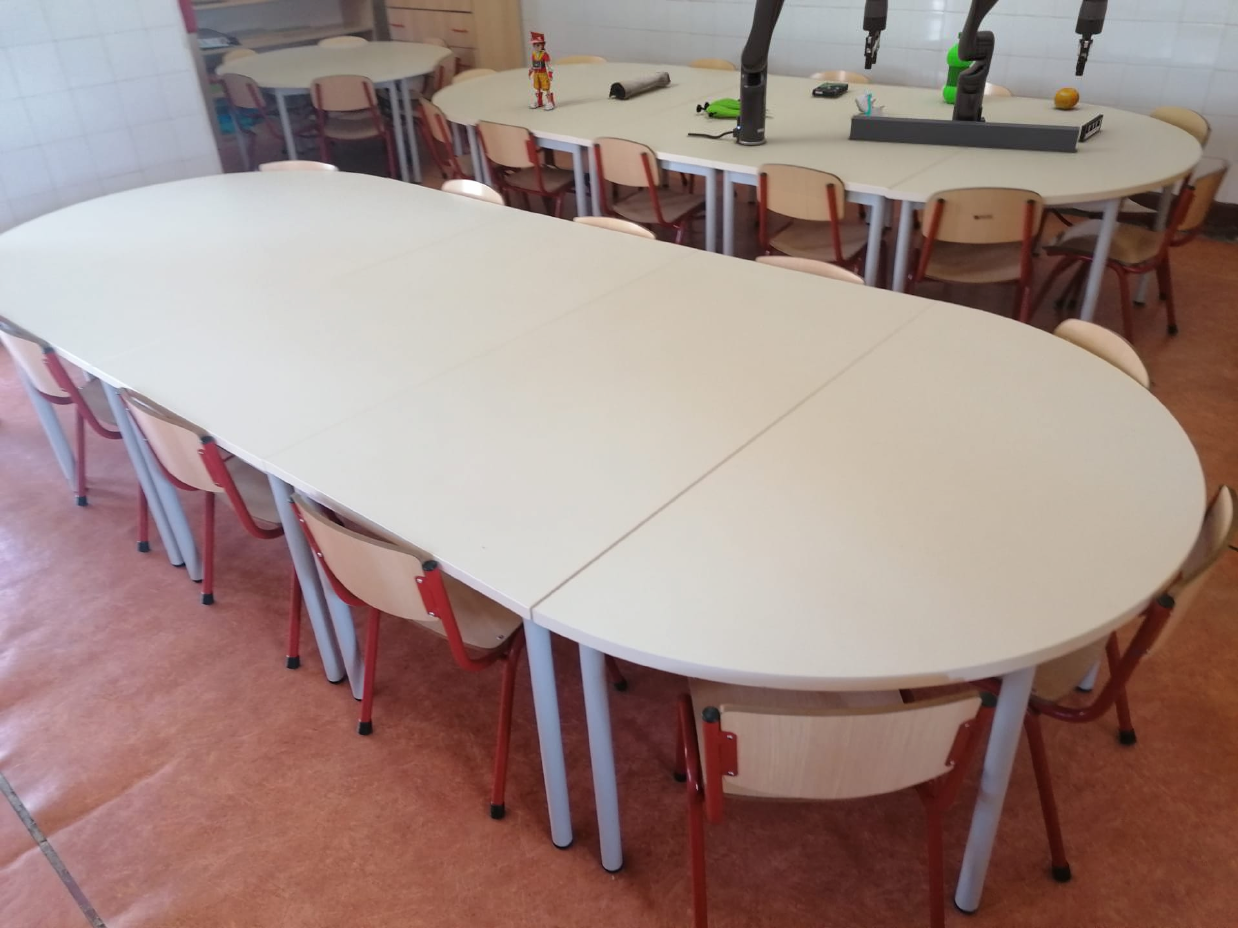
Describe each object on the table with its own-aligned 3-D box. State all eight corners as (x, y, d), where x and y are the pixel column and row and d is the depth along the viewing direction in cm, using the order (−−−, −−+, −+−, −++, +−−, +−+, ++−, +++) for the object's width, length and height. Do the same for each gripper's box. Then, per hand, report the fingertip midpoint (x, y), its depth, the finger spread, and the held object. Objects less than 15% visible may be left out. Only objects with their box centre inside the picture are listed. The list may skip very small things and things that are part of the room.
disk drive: (835, 99, 369) (848, 90, 379) (836, 91, 367) (848, 83, 378) (811, 97, 374) (824, 88, 384) (812, 90, 372) (825, 81, 382)
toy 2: (686, 116, 353) (756, 128, 340) (688, 102, 350) (757, 114, 337) (718, 105, 373) (784, 117, 360) (719, 92, 370) (786, 103, 358)
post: (1074, 148, 297) (1079, 126, 293) (1074, 152, 294) (1079, 130, 290) (852, 136, 323) (854, 115, 319) (849, 139, 320) (851, 118, 316)
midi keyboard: (1082, 141, 303) (1086, 126, 300) (1078, 141, 304) (1082, 126, 301) (1100, 129, 313) (1103, 115, 310) (1096, 129, 314) (1100, 114, 311)
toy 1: (525, 109, 381) (517, 32, 364) (534, 104, 388) (527, 28, 371) (550, 110, 377) (543, 32, 360) (559, 105, 384) (553, 28, 367)
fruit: (1050, 100, 335) (1065, 80, 332) (1048, 104, 343) (1063, 84, 340) (1069, 112, 334) (1085, 93, 331) (1067, 116, 342) (1082, 96, 339)
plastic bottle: (973, 101, 354) (984, 32, 339) (955, 106, 349) (966, 36, 335) (952, 97, 361) (962, 29, 346) (934, 102, 356) (944, 33, 342)
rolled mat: (651, 76, 408) (662, 61, 399) (662, 93, 408) (674, 79, 400) (605, 92, 391) (616, 77, 383) (617, 110, 391) (628, 95, 383)
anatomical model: (850, 90, 344) (876, 83, 344) (852, 117, 350) (878, 110, 349) (861, 99, 332) (888, 92, 331) (864, 127, 338) (890, 120, 337)
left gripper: (868, 10, 304) (863, 62, 313) (859, 18, 293) (855, 70, 303) (890, 11, 301) (885, 62, 310) (883, 18, 291) (877, 71, 300)
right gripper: (1078, 12, 281) (1066, 67, 290) (1077, 20, 270) (1065, 77, 280) (1105, 12, 278) (1092, 68, 287) (1105, 20, 268) (1091, 78, 277)
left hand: (870, 66), depth 307 cm, fingers open, 8 cm apart
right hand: (1078, 73), depth 283 cm, fingers open, 8 cm apart
